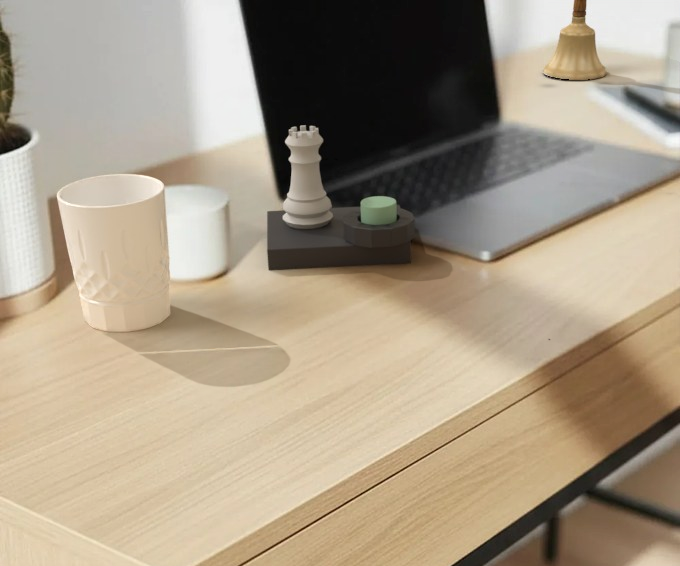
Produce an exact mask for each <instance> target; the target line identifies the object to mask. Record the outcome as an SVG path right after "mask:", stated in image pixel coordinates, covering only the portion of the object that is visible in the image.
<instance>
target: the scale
mask: <svg viewBox="0 0 680 566" xmlns="http://www.w3.org/2000/svg"><path fill="white" fill-rule="evenodd" d="M396 206H397V221H396V222H394V223H390V224H386V225H371V224H364V223H362V222H361V206H345V207H331V208H330V210H329V211H330V212H331V213H332V214H333V217H332V219H331V220H330V222H329V223H328V224H327V225H325V226H322V227H319V228H314V229H298V228H293V227H290V226H289V225H287V224H286V222H285V221H284V220H283V215H284V214H285V213H286V212H285V211H284V210H283V209H282V210H268V211H267V212H266V243H267V244H266V253H267V255H266V256H267V268H268V271H288V270H305V269H307V270H308V269H324V268H326V269H327V268H342V267H344V268H345V267H346V268H347V267H366V266H386V265H403V264H405V265H406V264H411V263H412V262H411V261H412V250H411V249H412V243H411V241H412V240H413V239H415V236H416V232H415V231H416V230H415V227H416V226H415V225H416V224H415V223H416V222H415V215H414V214H413V213H412V212H411V211H409V210H406V209H405V208H401V205H400V204H396Z"/></svg>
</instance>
